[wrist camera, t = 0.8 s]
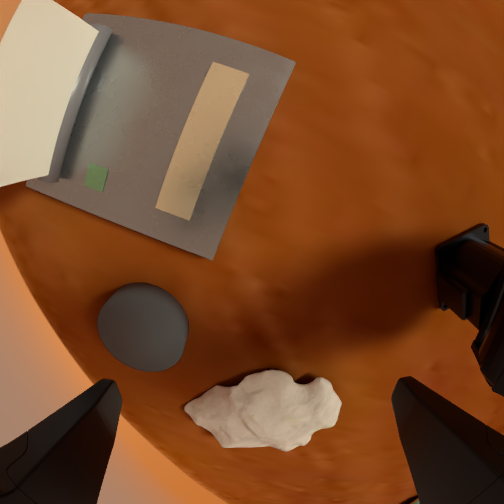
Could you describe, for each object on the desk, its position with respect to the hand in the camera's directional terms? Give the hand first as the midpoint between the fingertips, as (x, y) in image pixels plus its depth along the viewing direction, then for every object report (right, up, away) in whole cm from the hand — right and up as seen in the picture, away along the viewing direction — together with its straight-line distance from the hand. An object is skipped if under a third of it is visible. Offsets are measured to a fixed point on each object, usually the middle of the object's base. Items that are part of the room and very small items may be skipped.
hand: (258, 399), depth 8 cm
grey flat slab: (-8, +13, +9) cm, 18 cm away
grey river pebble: (-9, -1, +14) cm, 17 cm away
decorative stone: (+1, -10, +18) cm, 21 cm away
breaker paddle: (-12, +14, +7) cm, 20 cm away
